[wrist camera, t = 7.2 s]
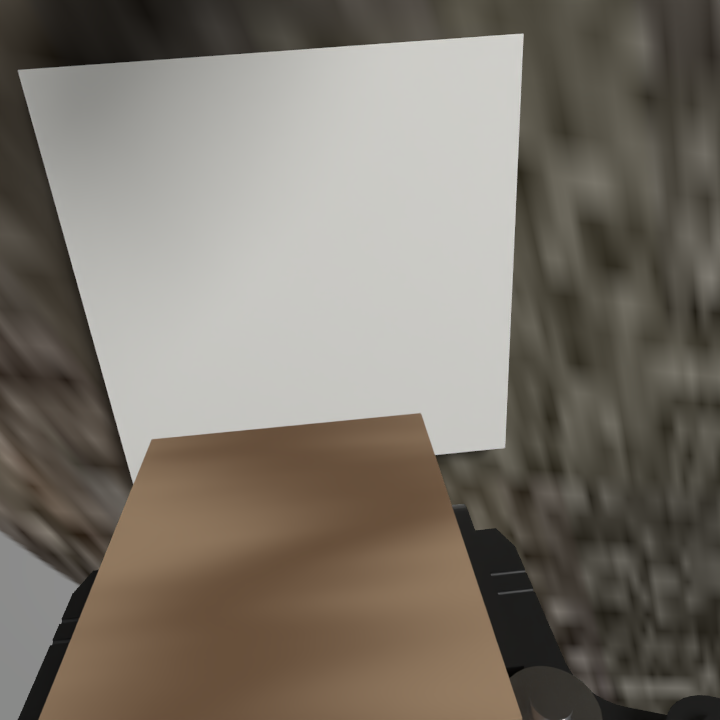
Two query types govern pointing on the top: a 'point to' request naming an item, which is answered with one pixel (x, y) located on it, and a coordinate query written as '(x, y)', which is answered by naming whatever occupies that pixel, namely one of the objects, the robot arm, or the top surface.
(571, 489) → the top surface
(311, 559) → the brown short block
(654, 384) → the top surface
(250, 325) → the cutting board
